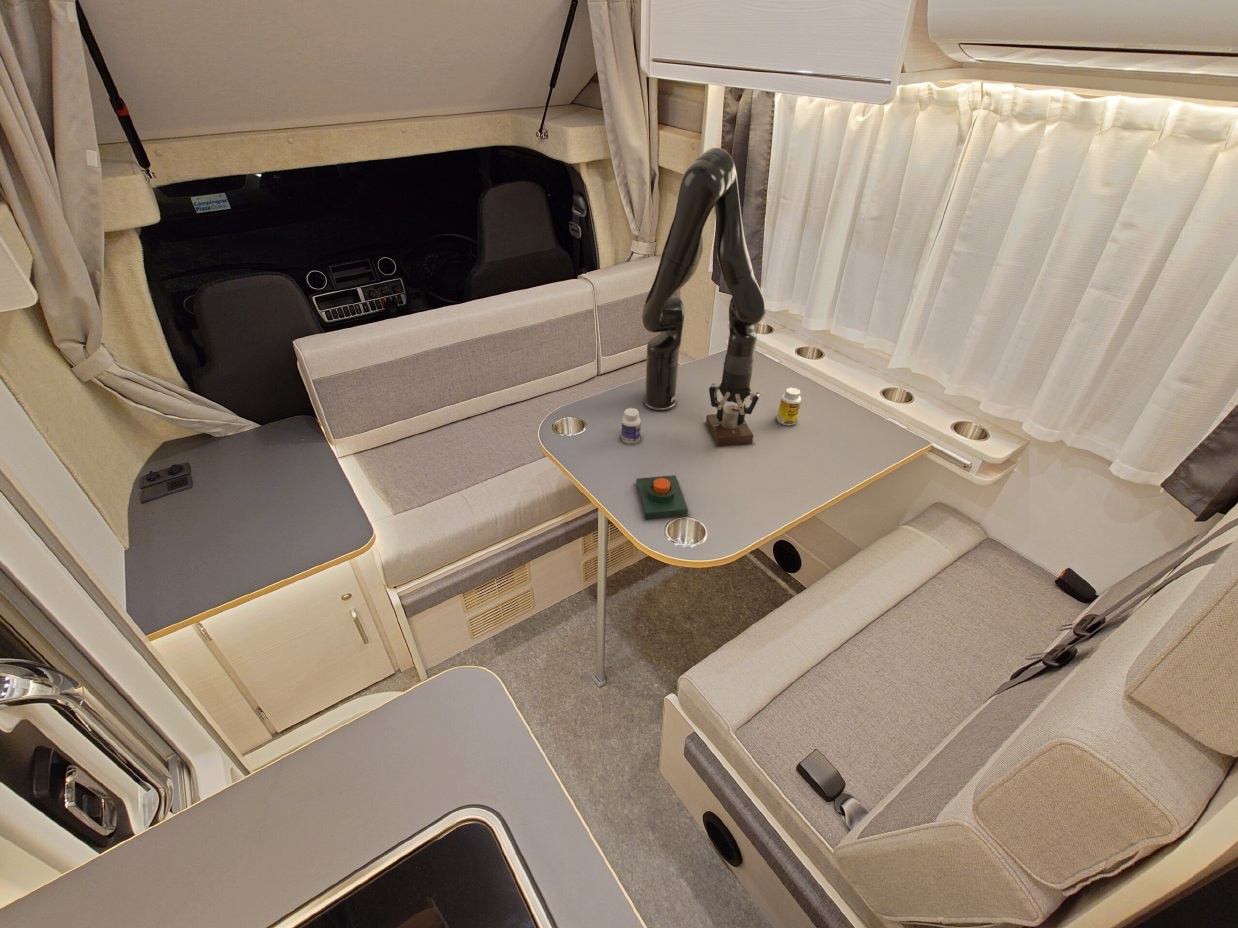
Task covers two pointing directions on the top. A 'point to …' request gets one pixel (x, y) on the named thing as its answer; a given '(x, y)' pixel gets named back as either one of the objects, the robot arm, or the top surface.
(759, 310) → the robot arm
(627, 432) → the pill bottle
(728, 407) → the dial
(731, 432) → the dial panel
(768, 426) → the top surface
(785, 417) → the supplement bottle
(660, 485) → the button
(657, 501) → the switch block
